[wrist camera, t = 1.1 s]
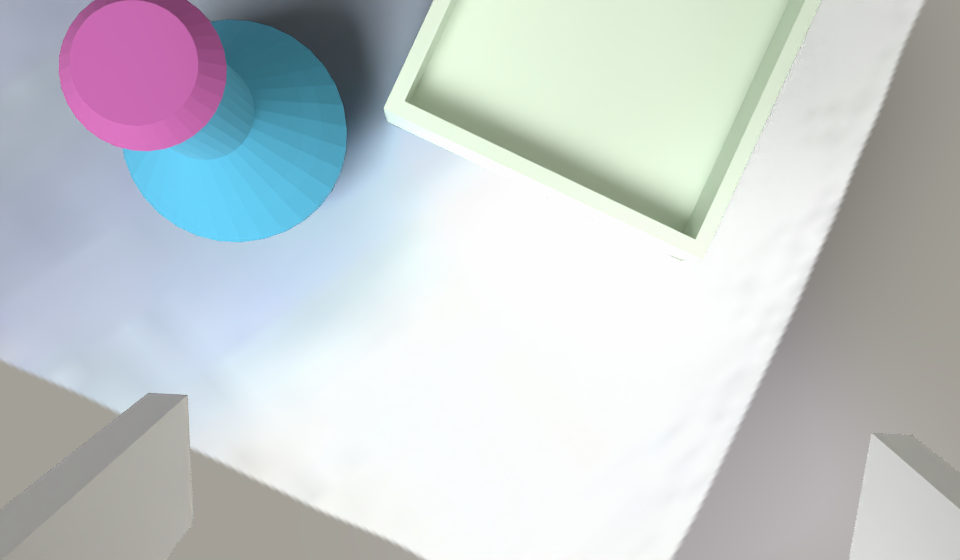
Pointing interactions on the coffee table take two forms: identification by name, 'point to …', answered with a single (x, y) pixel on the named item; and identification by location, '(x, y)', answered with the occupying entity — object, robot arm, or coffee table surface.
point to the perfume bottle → (207, 114)
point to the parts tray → (606, 101)
